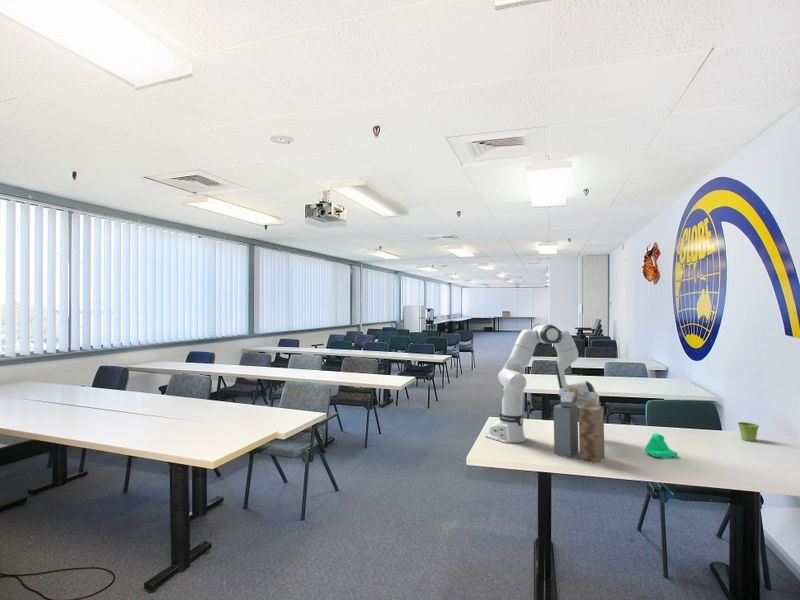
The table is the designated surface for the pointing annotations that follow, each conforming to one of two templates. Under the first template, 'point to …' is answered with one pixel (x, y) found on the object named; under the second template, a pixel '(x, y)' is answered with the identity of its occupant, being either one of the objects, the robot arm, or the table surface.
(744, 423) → the plant pot
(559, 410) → the grey stand
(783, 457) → the table surface
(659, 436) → the camera mount
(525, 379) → the robot arm
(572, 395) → the wood and grey block
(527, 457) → the table surface
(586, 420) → the walnut stand
